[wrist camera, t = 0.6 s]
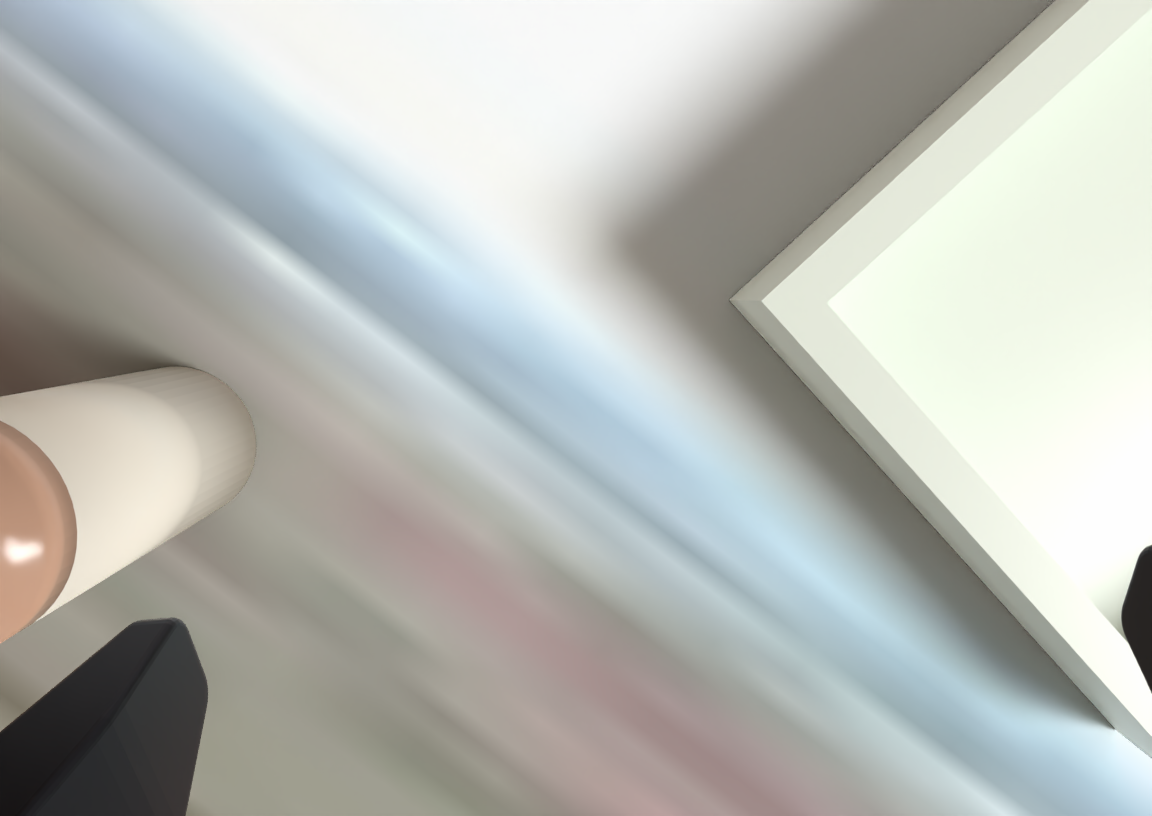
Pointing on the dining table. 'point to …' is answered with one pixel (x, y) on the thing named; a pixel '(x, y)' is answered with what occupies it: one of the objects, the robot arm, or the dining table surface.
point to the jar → (109, 478)
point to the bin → (1006, 330)
